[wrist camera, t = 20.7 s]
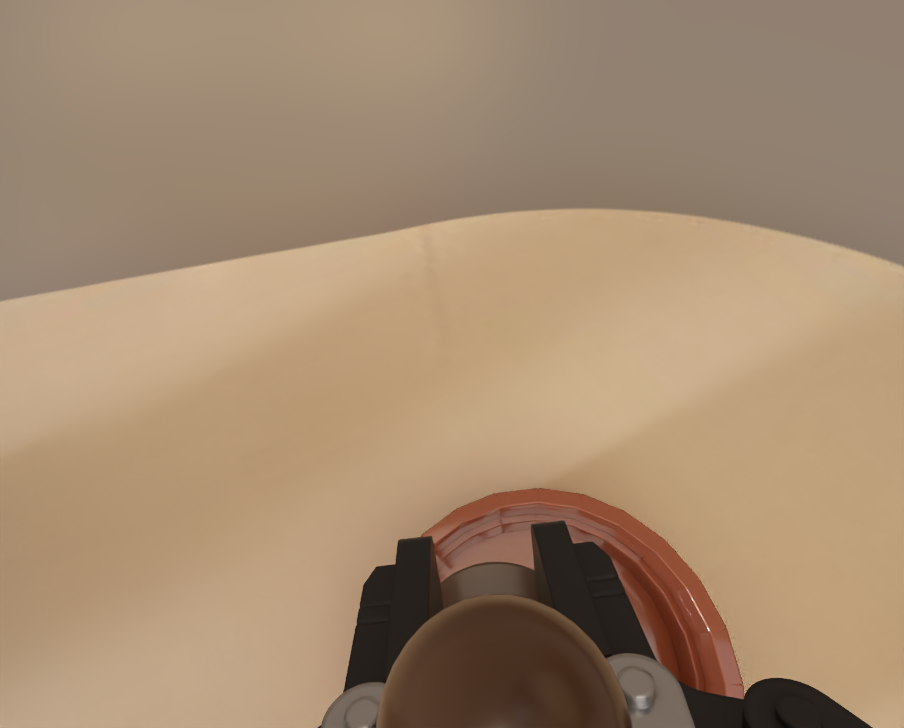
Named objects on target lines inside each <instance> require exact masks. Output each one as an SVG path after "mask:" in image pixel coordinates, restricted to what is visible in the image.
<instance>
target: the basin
mask: <svg viewBox="0 0 904 728" xmlns="http://www.w3.org/2000/svg"><path fill="white" fill-rule="evenodd" d="M561 520H564V521H565V523H566V525H567V528H568V531H569V534H570V536H571V539H572V542H573V544H574V543H582V542H591V541H593V542H594V543H595V544H597V545H598V546H599V547H600V548H601V549H602V550H603V551H605V552H606V553H607V554H608V555H609V556H610V558H611V560H612V562H613V564H614V567H615V569H616V571H617V573H618V577H619V579H620V580H621V582H622V584H623V587H624V589H625V593H626V594H627V596H628V598H629V600H630V602H631V604H632V607H633V609H634V611H635V613H636V616H637V618H638V620H639V622H640V625H641V627H642V629H643V631H644V633H645V636H646V638H647V640H648V642H649V645H650V647H651V649H652V651H653V653H654V655H655V657H656V659H657V661H658V662H659V663H661V664H662V665H664V666H665V667H666V668H667V669H669V670H670V672H671V673H672V674H673V675H674V676H675V677H676V679H677V680H678V681H680V682H682V683H683V684H685V685H687V686H690V687H692V688H694V689H697V690H700V691H704V692H708V693H713V694H718V695H724V696H729V697H735V698H740V699H744V686H743V685H742V684H743V681H742V678H741V675H740V671H739V668H738V664H737V661H736V658H735V654H734V651H733V647H732V644H731V641H730V637H729V634H728V630H727V629H726V626H725V624H724V622H723V620H722V618H721V617H720V615H719V613H718V611H717V609H716V608H715V606H714V604H713V602H712V600H711V599H710V597H709V595H708V593H707V591H706V590H705V588H704V586H703V584H702V582H701V581H700V580H699V578H698V577H697V575H696V574H695V573H694V572H693V571H692V570H691V569H690V568H689V566H688V565H687V564H686V563H685V562H684V561H683V560H682V559H681V557H680V556H679V555H678V554H677V553H676V552H675V551H674V549H673V548H672V547H671V546H670V545H669V544H668V543H667V542H666V541H665V540H664V539H663V538H662V537H660V536H659V535H658V534H656V533H655V532H653V531H652V530H651V529H649V528H648V527H646V526H645V525H644V524H642V523H641V522H639V521H638V520H637V519H635V518H634V517H632V516H631V515H630V514H628V513H627V512H625V511H623V510H621V509H618V508H616V507H613V506H611V505H608V504H606V503H603V502H601V501H599V500H596V499H594V498H591V497H589V496H586V495H584V494H582V495H581V494H578V493H571V492H564V491H557V490H550V489H542V488H539V489H537V488H534V489H526V490H517V491H509V492H501V493H494V494H492V495H489V496H487V497H484V498H482V499H479V500H477V501H474V502H472V503H469V504H467V505H465V506H462V507H460V508H457V509H456V510H454V511H453V512H451V513H450V514H449V515H447V516H446V517H445V518H443V519H442V520H441V521H439V522H438V523H437V524H435V525H434V526H433V527H431V528H430V529H429V530H427V531H426V532H425V533H424V534H422V535H421V536H420V537H425V536H432V538H433V542H434V548H435V554H436V560H437V567H438V573H439V579H440V582H442V581H443V580H444V579H446V578H447V577H448V576H450V575H451V574H453V573H455V572H457V571H459V570H461V569H463V568H465V567H468V566H471V565H474V564H479V563H484V562H498V561H499V562H510V563H514V564H519V565H523V566H525V567H528V568H531V569H533V570H534V559H533V549H532V538H531V524H536V523H544V522H553V521H561Z"/></svg>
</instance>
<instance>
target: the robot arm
mask: <svg viewBox="0 0 904 728" xmlns="http://www.w3.org/2000/svg"><path fill="white" fill-rule="evenodd" d="M531 538H532V549H533V559H534V570H535V581H536V589H537V596H538V602H541V603H543V604H546V605H548V606H550V607H552V608H554V609H555V610H557V611H559V612H560V613H562V614H563V615H565V616H566V617H567V618H569V619H570V620H571V621H573V622H574V623H575V624H576V625H577V626H578V627H580V628H581V629H582V630H583V631H584V632H585V633H586V634H587V635H588V636H589V638H590V639H591V640H592V641H593V642H594V643H595V644H596V646H597V647H598V648H599V650H600V651H601V653H602V654H603V655H604V657H605V658H606V660H607V661H608V662H609V664H610V665H611V667H612V669H613V671H614V673H615V676H616V678H617V680H618V682H619V684H620V686H621V688H622V690H623V692H624V696H625V699H626V703H627V706H628V709H629V713H630V716H631V719H632V726H633V728H872V727H871V726H869V725H868V724H867V723H865V722H864V721H862V720H861V719H859V718H858V717H857V716H855V715H854V714H852V713H851V712H849V711H848V710H846V709H845V708H844V707H842V706H841V705H839V704H838V703H836V702H835V701H834V700H832V699H831V698H829V697H828V696H826V695H825V694H823V693H822V692H820V691H818V690H817V689H815V688H813V687H811V686H809V685H806V684H804V683H801V682H798V681H794V680H790V679H783V678H770V679H764V680H761V681H758V682H756V683H755V684H753V685H752V686H751V687H750V688H749V689H748V690H747V692H746V694H745V696H744V699H740V698H735V697H729V696H724V695H718V694H713V693H708V692H704V691H700V690H697V689H694V688H692V687H690V686H687V685H685V684H683V683H682V682H680V681H678V680H677V679H676V677H675V676H674V675H673V674H672V673H671V672H670V670H669V669H667V668H666V667H665V666H664V665H662V664H661V663H659V662H658V661H657V659H656V657H655V655H654V653H653V651H652V649H651V647H650V645H649V642H648V640H647V638H646V636H645V633H644V631H643V629H642V627H641V625H640V622H639V620H638V618H637V616H636V613H635V611H634V609H633V607H632V604H631V602H630V600H629V598H628V596H627V594H626V593H625V589H624V587H623V584H622V582H621V580H620V579H619V577H618V573H617V571H616V569H615V567H614V564H613V562H612V560H611V558H610V556H609V555H608V554H607V553H606V552H605V551H603V550H602V549H601V548H600V547H599V546H598V545H597V544H595V543H594V542H593V541H591V542H582V543H574V544H573V542H572V539H571V536H570V534H569V531H568V528H567V525H566V523H565V521H564V520H561V521H553V522H544V523H536V524H531ZM443 609H444V608H443V599H442V591H441V585H440V579H439V573H438V567H437V560H436V554H435V548H434V542H433V538H432V536H425V537H417V538H409V539H400V540H399V541H398V547H397V555H396V564H395V565H387V566H378V567H376V568H375V569H374V571H373V572H372V574H371V575H370V577H369V578H368V579H367V581H366V582H365V584H364V585H363V591H362V596H361V602H360V609H359V612H358V618H357V626H356V628H355V634H354V639H353V644H352V650H351V655H350V660H349V666H348V671H347V676H346V682H345V687H344V691H343V694H342V695H340V696H339V697H338V698H337V699H336V700H335V701H334V702H333V703H332V705H331V706H330V707H329V708H328V710H327V712H326V714H325V716H324V718H323V721H322V725H321V726H319V727H318V728H376V720H377V715H378V710H379V705H380V701H381V696H382V691H383V689H384V686H385V684H386V681H387V679H388V676H389V673H390V671H391V668H392V666H393V664H394V663H395V661H396V659H397V658H398V656H399V654H400V653H401V651H402V650H403V648H404V646H405V645H406V643H407V642H408V641H409V640H410V638H411V637H412V636H413V635H414V634H415V633H416V631H417V630H418V629H419V628H420V627H421V626H422V625H423V624H424V623H425V622H427V621H428V620H429V619H430V618H431V617H433V616H434V615H436V614H437V613H438V612H440V611H441V610H443Z"/></svg>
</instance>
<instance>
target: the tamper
mask: <svg viewBox="0 0 904 728" xmlns="http://www.w3.org/2000/svg"><path fill="white" fill-rule="evenodd" d="M440 585H441V591H442V599H443V608H444V609H443V610H441V611H440V612H438V613H437V614H436V615H434V616H433V617H431V618H430V619H429V620H428V621H427V622H425V623H424V624H423V625H422V626H421V627H420V628H419V629H418V630H417V631H416V633H415V634H414V635H413V636H412V637H411V638H410V640H409V641H408V642H407V643H406V645H405V646H404V648H403V650H402V651H401V653H400V654H399V656H398V658H397V659H396V661H395V663H394V664H393V666H392V668H391V671H390V673H389V676H388V679H387V681H386V684H385V686H384V689H383V691H382V696H381V701H380V705H379V710H378V715H377V720H376V728H633V726H632V719H631V716H630V713H629V709H628V706H627V703H626V699H625V696H624V692H623V690H622V688H621V686H620V684H619V682H618V680H617V678H616V676H615V673H614V671H613V669H612V667H611V665H610V664H609V662H608V661H607V660H606V658H605V657H604V655H603V654H602V653H601V651H600V650H599V648H598V647H597V646H596V644H595V643H594V642H593V641H592V640H591V639H590V638H589V636H588V635H587V634H586V633H585V632H584V631H583V630H582V629H581V628H580V627H578V626H577V625H576V624H575V623H574V622H573V621H571V620H570V619H569V618H567V617H566V616H565V615H563V614H562V613H560V612H559V611H557V610H555V609H554V608H552V607H550V606H548V605H546V604H543V603H541V602H538V596H537V589H536V581H535V570H533V569H531V568H528V567H525V566H523V565H519V564H514V563H510V562H499V561H498V562H484V563H479V564H474V565H471V566H468V567H465V568H463V569H461V570H459V571H457V572H455V573H453V574H451V575H450V576H448V577H447V578H446V579H444V580H443V581H442V582H440Z"/></svg>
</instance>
